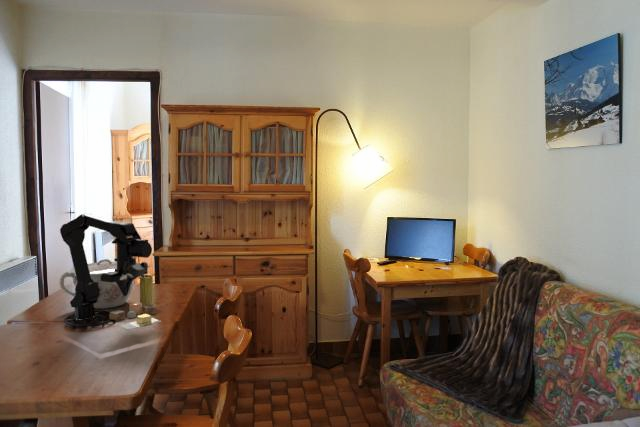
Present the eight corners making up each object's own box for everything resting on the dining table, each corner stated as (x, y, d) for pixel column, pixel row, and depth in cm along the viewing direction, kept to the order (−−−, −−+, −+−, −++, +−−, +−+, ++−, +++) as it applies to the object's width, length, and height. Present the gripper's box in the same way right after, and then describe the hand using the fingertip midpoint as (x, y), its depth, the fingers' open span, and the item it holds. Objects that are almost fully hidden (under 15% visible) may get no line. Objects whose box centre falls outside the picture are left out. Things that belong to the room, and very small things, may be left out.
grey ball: (129, 321, 197) (129, 312, 197) (125, 319, 200) (125, 311, 199) (138, 319, 200) (137, 311, 200) (133, 317, 202) (133, 309, 202)
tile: (141, 324, 190) (141, 318, 190) (136, 322, 193) (136, 315, 193) (151, 322, 193) (151, 315, 193) (146, 319, 196) (145, 313, 196)
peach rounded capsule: (133, 318, 202) (133, 306, 201) (127, 315, 205) (126, 304, 205) (144, 315, 206) (144, 303, 205) (138, 313, 209) (138, 301, 208)
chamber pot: (148, 298, 233) (147, 254, 231) (119, 315, 206) (118, 266, 204) (92, 296, 236) (90, 253, 234) (55, 312, 209) (54, 263, 207)
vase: (149, 310, 213) (148, 277, 212) (136, 309, 214) (135, 277, 213) (156, 306, 219) (156, 274, 218) (144, 305, 220) (143, 274, 219)
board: (127, 332, 184) (127, 329, 184) (118, 328, 189) (118, 325, 189) (161, 324, 195) (161, 320, 195) (151, 320, 199) (151, 317, 199)
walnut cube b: (145, 317, 203) (145, 308, 203) (144, 315, 207) (143, 305, 206) (155, 316, 205) (155, 307, 205) (154, 314, 208) (153, 304, 208)
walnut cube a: (116, 323, 195) (116, 313, 194) (109, 322, 196) (109, 312, 196) (124, 321, 198) (124, 311, 198) (117, 319, 200) (117, 310, 200)
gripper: (122, 261, 178) (122, 304, 179) (158, 254, 195) (158, 292, 196) (99, 258, 182) (99, 300, 184) (136, 251, 199) (136, 289, 201)
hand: (125, 295), depth 191 cm, fingers closed
